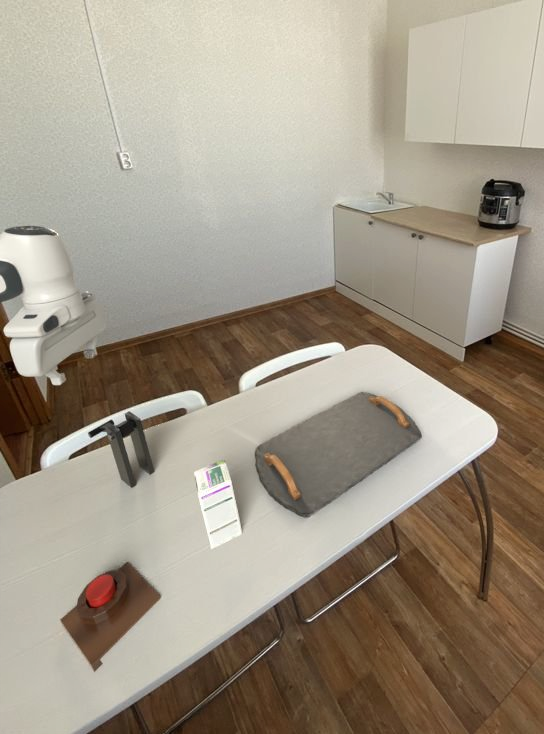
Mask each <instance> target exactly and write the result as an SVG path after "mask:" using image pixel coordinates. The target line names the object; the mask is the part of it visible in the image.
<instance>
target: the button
mask: <svg viewBox="0 0 544 734" xmlns="http://www.w3.org/2000/svg"><path fill="white" fill-rule="evenodd" d="M94 579H95V578H94ZM94 579H93V580H94ZM115 590H116V585H115V583H114V580H113V577H112V576H110V575H103V576H100V577H98V578H97V579H95V580H94V581H93V582H92V583H91V584H90V585H89V587H88V589H87V591H86V597H87V600H88V602H89V605H90V606H92V607H99V606H102V605H104V604H105V603H106V602H108V601H109V600H110V599H111V597H112V596H113V595H114V593H115Z"/></svg>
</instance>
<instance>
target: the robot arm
mask: <svg viewBox="0 0 544 734" xmlns="http://www.w3.org/2000/svg"><path fill="white" fill-rule="evenodd" d="M71 260H72V259H71V257H70V255H69V252H68V250H67V247H66V245H65V243H64V241H63V239H62V237H61V236H60V234H59V233H58V232H56V230H53V229H51V228H49V227H45V226H39V225H21V226H19V225H18V226H12V227H8V228H6V229H4V230H3V231H2V232H1V233H0V303H3V302H7V301H10V300H12V299H13V300H14V299H15V298H19V299H20V300H21V302H22V305H23V306H22V307H21V308H20V309H19V310H18V312H16V314H15V315H14V316H13V318H11V319H10V321H8V323H6V324H5V326H4V327H3V334H4V336H6V338H11V340H10V342H9V351H10V354H11V358H12V361H13V363H14V364H13V365H14V366H15V369H16V371H17V373H18V374H19V375H21V376H23V377H26V378H27V377H28V378H31V377H32V378H33V377H42V376H45V377H47V378H49V379H50V382H51V384H52V385H53V386H61V385H62V384H63V383H65V382H66V381H67V377H66V373H65V372H60V373H59V372H58V369H59V368H58V365H59V364H60V363H61V362H63V361H64V360H66V359H67V358H68V357H69V356H71V355H72V354H73V353H75V352H76V351H77V350H78V349H80V348H82V347H83V346H84V345H85V349H84V350H83V355H84V358H85V359H87V360H88V359H93V358H95V357H96V356H98V352H97V345H98V336H97V335H98V334H99V335H100V333H101V332H103V331H104V330H105V329H106V328H107V325H108V321H107V318H106V315H105V312H104V311H103V308H102V306H101V304H100V302H99V301H98V300H97V299H96V298H97V297H96V296H95V294H94V293H92V292H88V291H85V292H82V293H81V290H80V286H79V285H78V283H76V280H75V279H74V266H73V263H72V261H71Z"/></svg>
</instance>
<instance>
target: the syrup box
mask: <svg viewBox="0 0 544 734" xmlns="http://www.w3.org/2000/svg"><path fill="white" fill-rule="evenodd" d="M193 475H194V483H195V489H196V493H197V497H198V502H199V504H200V505H199V506H200V510H201V514H202V518H203V523H204V526H205V531H206V535H207V539H208V542H209V547H210V549H211V550H212V549H214V548H217V547H220V546H221V545H223V544H225V543H227V542H229V541H231V540H233V539H236V538H237V537H239V536H242V534H243V529H242V524H241V519H240V514H239V509H238V505H237V503H238V502H237V499H236V495H235V490H234V486H233V482H232V478H231V474H230V471H229V468H228V464H227V460H226V459H222V460H219V461H216V462H214V463H211V464H209V465H206V466H204V467H202V468H200V469H198V470H195V471H193Z"/></svg>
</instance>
